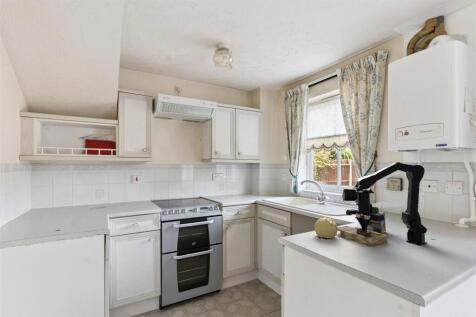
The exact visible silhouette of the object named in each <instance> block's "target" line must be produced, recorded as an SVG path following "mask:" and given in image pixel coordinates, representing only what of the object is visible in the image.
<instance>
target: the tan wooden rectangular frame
mask: <svg viewBox="0 0 476 317" xmlns="http://www.w3.org/2000/svg"><path fill="white" fill-rule="evenodd" d="M354 228H359V227H357V226H355V227H354ZM367 231H368V232H371V234H368V235H364V236H361V235H358V234H355V233H351V232H348V231H345V230H340V231H339V232H340V233H339V234H340V235H339V236H340V237H341V238H344V239H347V240H350V241H354V242H355V243H358V244H359V243H360V244H362V245H365V246H368V247H373V246H374V247H375V246H379V245H382V244H386V243H388V235H387V234H385V233H383V234H380V233H377V232H373V231H369V230H367Z"/></svg>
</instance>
